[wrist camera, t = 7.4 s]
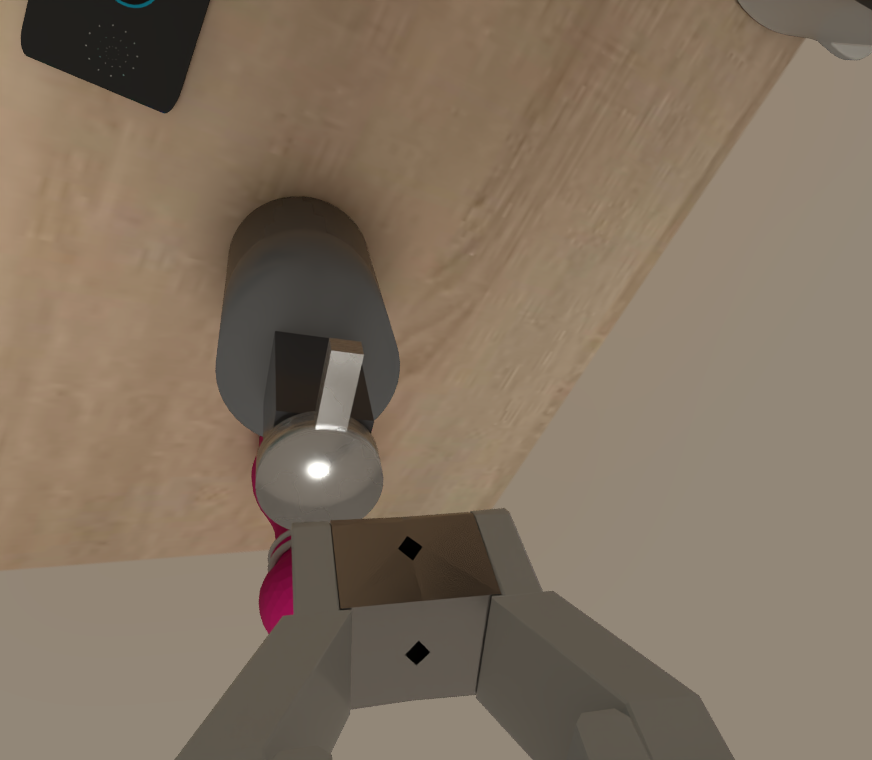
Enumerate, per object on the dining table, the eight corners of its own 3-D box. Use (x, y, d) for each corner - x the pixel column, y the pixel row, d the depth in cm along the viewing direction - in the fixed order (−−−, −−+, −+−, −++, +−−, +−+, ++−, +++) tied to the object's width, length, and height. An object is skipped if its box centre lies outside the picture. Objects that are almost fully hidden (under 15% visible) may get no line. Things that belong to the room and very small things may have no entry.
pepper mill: (282, 383, 54) (288, 594, 37) (369, 421, 57) (411, 632, 40) (235, 457, 56) (220, 687, 39) (320, 490, 59) (341, 716, 42)
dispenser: (237, 184, 46) (218, 347, 28) (381, 210, 48) (446, 376, 31) (221, 316, 50) (195, 530, 32) (354, 334, 53) (398, 542, 35)
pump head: (276, 256, 34) (278, 347, 27) (385, 273, 35) (415, 365, 28) (251, 413, 38) (247, 529, 30) (350, 423, 39) (369, 537, 32)
